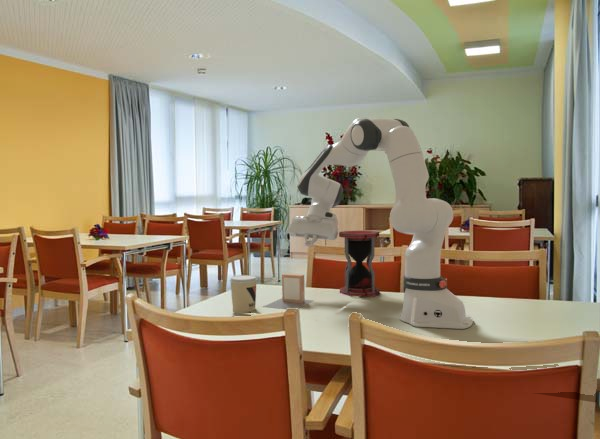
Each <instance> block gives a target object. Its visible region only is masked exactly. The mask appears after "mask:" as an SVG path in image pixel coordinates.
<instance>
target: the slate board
mask: <svg viewBox="0 0 600 439" xmlns="http://www.w3.org/2000/svg"><path fill="white" fill-rule="evenodd" d="M312 302H314V299H313V300H312V299H305V302H303V303H297V302H287V301H282V297H281V298H279V299H277V300H274V301H272V302H270V303H268V304H265V305H263V306H262V308H268V309H270V308H271V309H279V310H280V309H281V310H288V309H287V308H298V309H300V308H302V307H305V306H306V305H309V304H310V303H312Z"/></svg>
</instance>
